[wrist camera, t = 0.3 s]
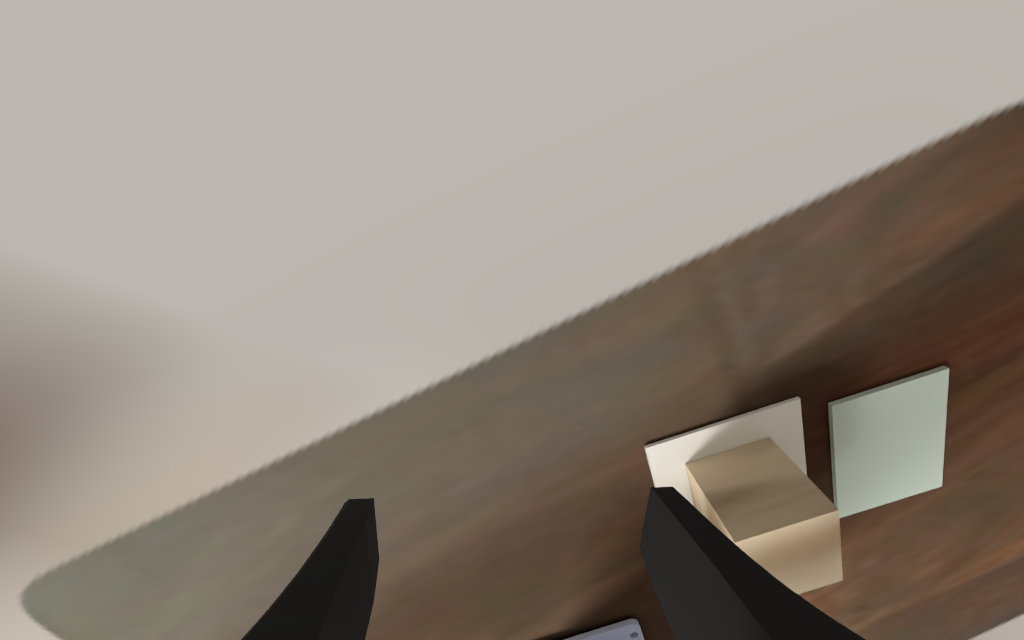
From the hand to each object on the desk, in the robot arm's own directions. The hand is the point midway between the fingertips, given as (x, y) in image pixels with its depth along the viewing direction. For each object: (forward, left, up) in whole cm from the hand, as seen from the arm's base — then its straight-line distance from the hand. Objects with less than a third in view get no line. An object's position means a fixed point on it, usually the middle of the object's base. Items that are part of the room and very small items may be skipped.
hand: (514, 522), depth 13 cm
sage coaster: (-13, -18, -10) cm, 24 cm away
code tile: (-12, -10, -10) cm, 18 cm away
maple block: (-12, -10, -10) cm, 18 cm away
